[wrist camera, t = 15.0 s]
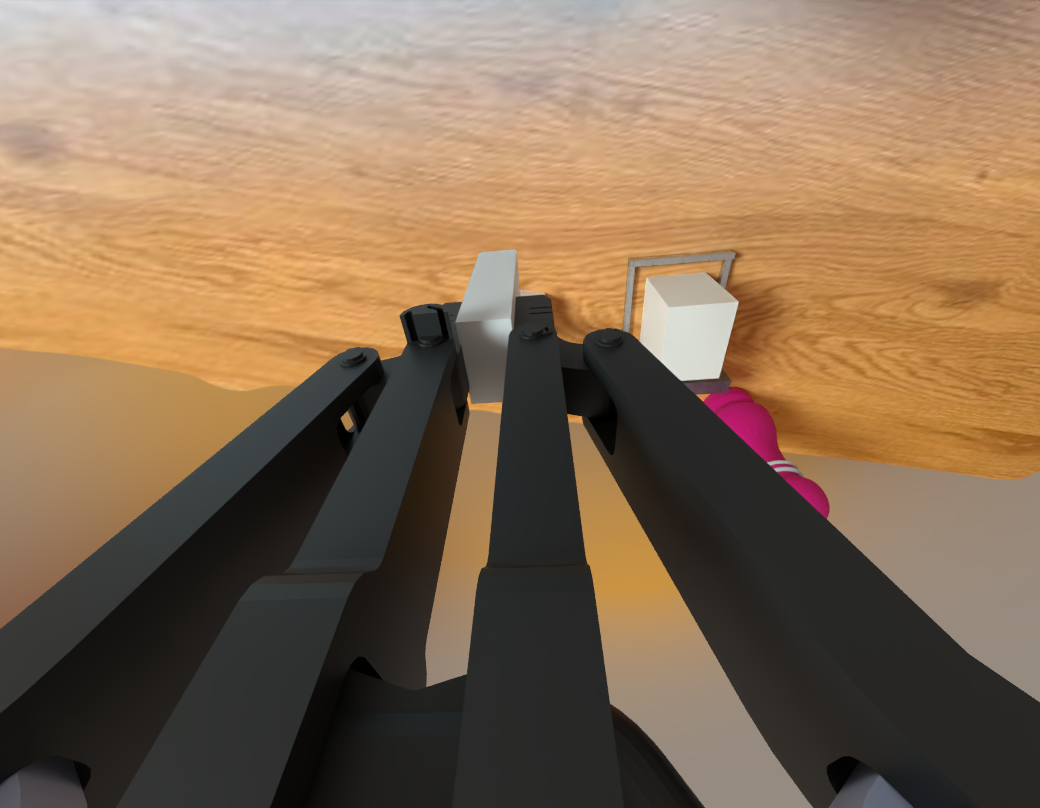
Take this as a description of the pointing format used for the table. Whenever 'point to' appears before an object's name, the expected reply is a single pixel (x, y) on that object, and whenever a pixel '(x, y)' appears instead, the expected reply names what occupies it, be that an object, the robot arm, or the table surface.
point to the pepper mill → (763, 440)
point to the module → (688, 323)
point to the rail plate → (727, 255)
